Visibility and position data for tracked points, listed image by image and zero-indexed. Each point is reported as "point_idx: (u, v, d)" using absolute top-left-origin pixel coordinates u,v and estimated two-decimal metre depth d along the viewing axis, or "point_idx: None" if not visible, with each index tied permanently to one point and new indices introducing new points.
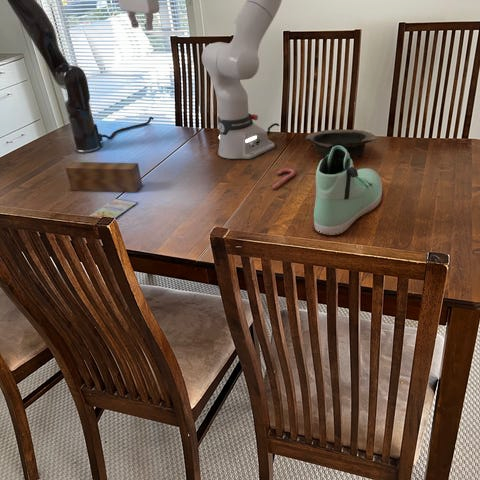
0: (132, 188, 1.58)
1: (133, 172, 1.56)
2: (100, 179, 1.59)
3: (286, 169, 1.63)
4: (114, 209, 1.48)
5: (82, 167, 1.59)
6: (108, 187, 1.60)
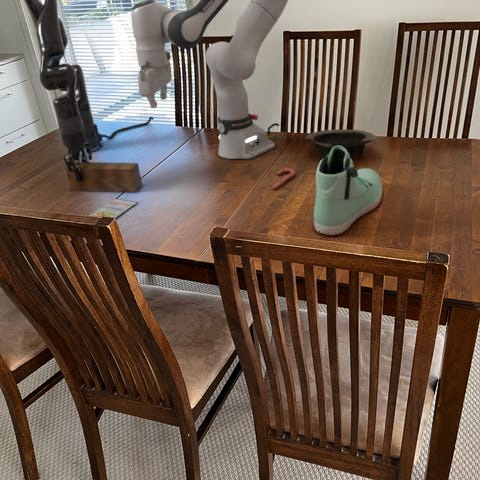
0: (132, 188, 1.58)
1: (133, 172, 1.56)
2: (100, 179, 1.59)
3: (286, 169, 1.63)
4: (114, 209, 1.48)
5: (82, 166, 1.59)
6: (108, 187, 1.60)
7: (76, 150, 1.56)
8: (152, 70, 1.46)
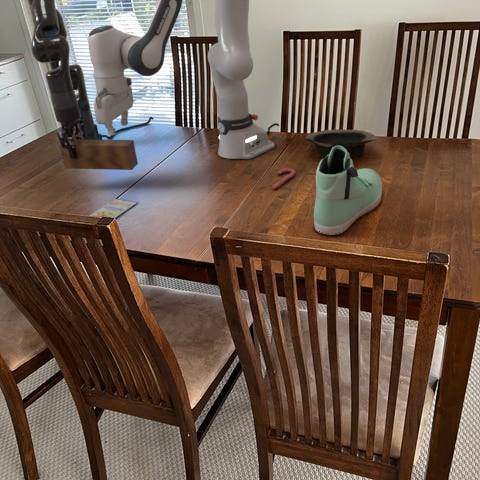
0: (127, 165, 1.54)
1: (128, 149, 1.52)
2: (94, 157, 1.55)
3: (286, 169, 1.63)
4: (114, 209, 1.48)
5: (75, 143, 1.55)
6: (103, 164, 1.56)
7: (70, 126, 1.52)
8: (109, 97, 1.41)
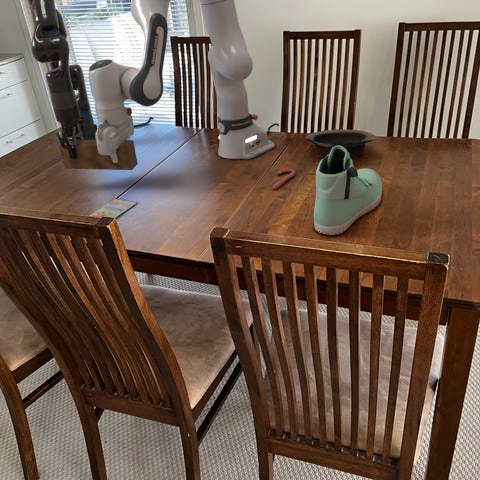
0: (127, 165, 1.54)
1: (128, 149, 1.52)
2: (94, 157, 1.55)
3: (286, 169, 1.63)
4: (114, 209, 1.48)
5: (75, 144, 1.55)
6: (103, 165, 1.56)
7: (70, 126, 1.52)
8: (111, 129, 1.45)
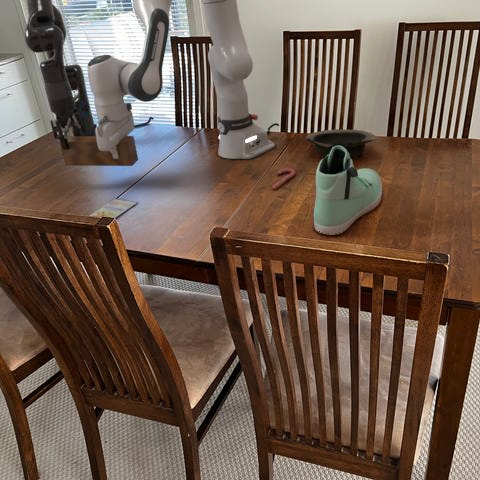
0: (127, 161, 1.54)
1: (128, 145, 1.51)
2: (94, 153, 1.54)
3: (286, 169, 1.63)
4: (114, 209, 1.48)
5: (76, 140, 1.55)
6: (103, 161, 1.55)
7: (65, 117, 1.50)
8: (110, 124, 1.45)
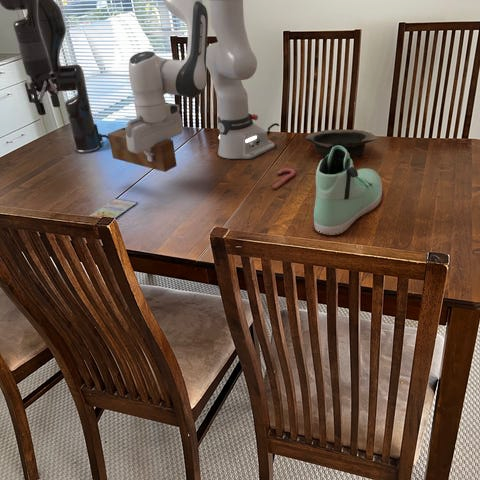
0: (161, 166, 1.44)
1: (163, 149, 1.41)
2: None
3: (286, 169, 1.63)
4: (114, 209, 1.48)
5: (121, 135, 1.50)
6: (141, 161, 1.48)
7: (40, 80, 1.45)
8: (143, 126, 1.36)
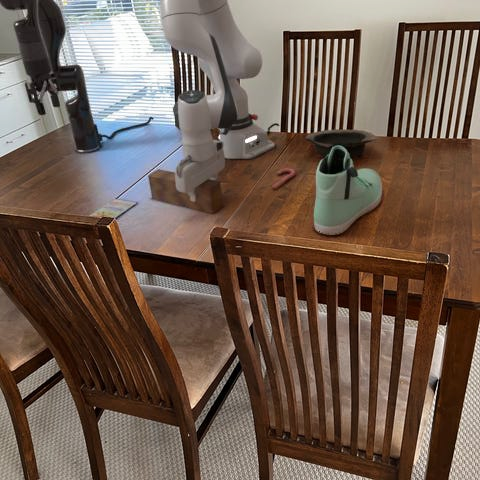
0: (209, 208, 1.42)
1: (211, 191, 1.39)
2: (178, 193, 1.46)
3: (286, 169, 1.63)
4: (114, 209, 1.48)
5: (163, 176, 1.47)
6: (186, 202, 1.46)
7: (40, 80, 1.45)
8: (192, 165, 1.33)
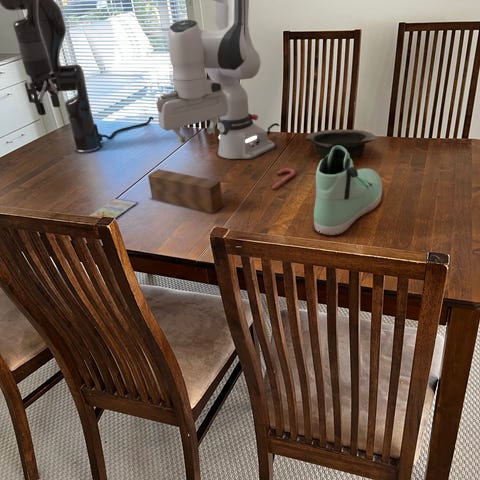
0: (209, 208, 1.42)
1: (211, 191, 1.39)
2: (178, 193, 1.46)
3: (286, 169, 1.63)
4: (114, 209, 1.48)
5: (163, 176, 1.47)
6: (186, 202, 1.46)
7: (40, 80, 1.45)
8: (177, 102, 1.25)
